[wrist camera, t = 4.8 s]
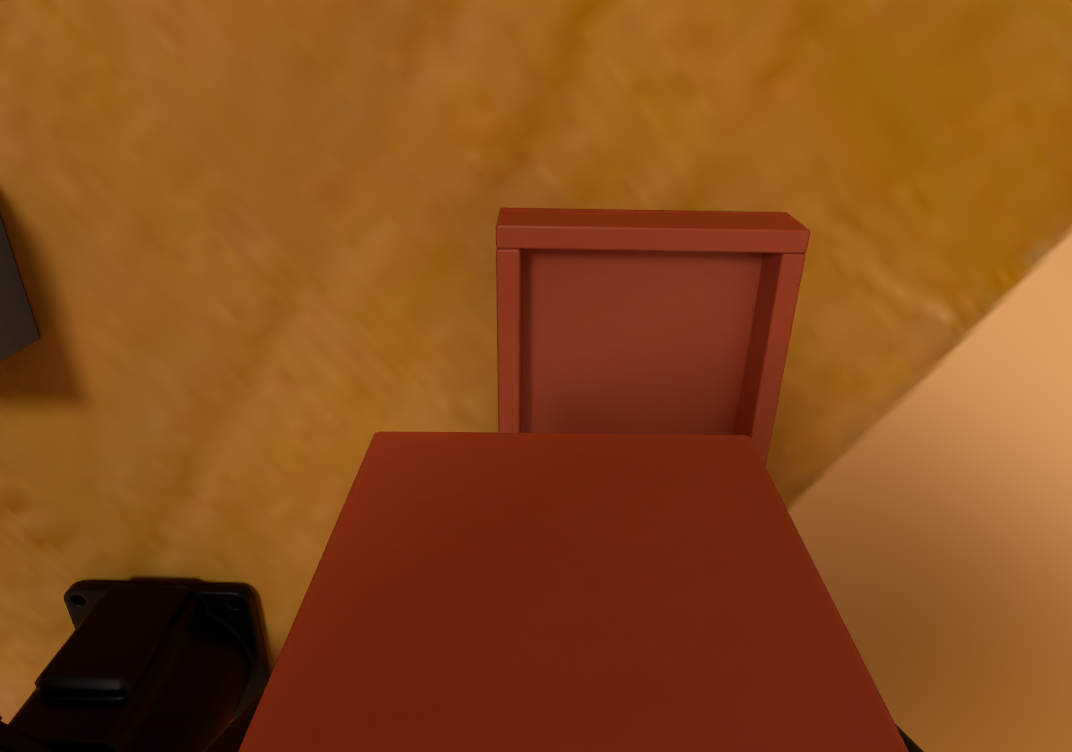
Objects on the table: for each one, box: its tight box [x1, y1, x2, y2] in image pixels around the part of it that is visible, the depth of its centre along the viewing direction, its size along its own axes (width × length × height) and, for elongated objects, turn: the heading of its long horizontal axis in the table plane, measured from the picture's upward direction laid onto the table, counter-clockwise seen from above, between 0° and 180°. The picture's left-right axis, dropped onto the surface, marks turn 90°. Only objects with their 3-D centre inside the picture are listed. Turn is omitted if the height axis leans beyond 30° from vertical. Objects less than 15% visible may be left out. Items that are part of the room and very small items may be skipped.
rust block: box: [238, 432, 909, 752], centre depth 8 cm, size 5×5×5 cm
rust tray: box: [496, 208, 810, 466], centre depth 20 cm, size 9×8×2 cm
